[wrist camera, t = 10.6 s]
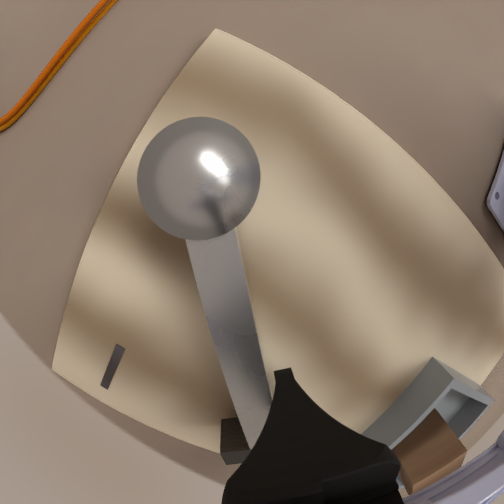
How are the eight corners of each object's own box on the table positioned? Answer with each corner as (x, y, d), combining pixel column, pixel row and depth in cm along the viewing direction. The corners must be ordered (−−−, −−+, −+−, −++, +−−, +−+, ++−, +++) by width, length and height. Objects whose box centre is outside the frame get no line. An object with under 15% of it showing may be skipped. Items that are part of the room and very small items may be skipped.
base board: (216, 36, 10) (215, 27, 9) (521, 307, 15) (528, 310, 14) (57, 362, 13) (51, 370, 13) (381, 473, 18) (384, 480, 18)
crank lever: (145, 149, 10) (116, 139, 7) (254, 124, 10) (261, 103, 7) (226, 427, 14) (226, 467, 11) (303, 413, 14) (314, 453, 11)
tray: (432, 356, 14) (454, 378, 11) (478, 384, 15) (494, 400, 13) (324, 464, 16) (331, 489, 13) (392, 470, 17) (402, 489, 15)
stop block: (385, 434, 15) (413, 485, 10) (433, 406, 15) (467, 450, 10) (389, 456, 16) (411, 500, 11) (431, 432, 15) (458, 471, 11)
